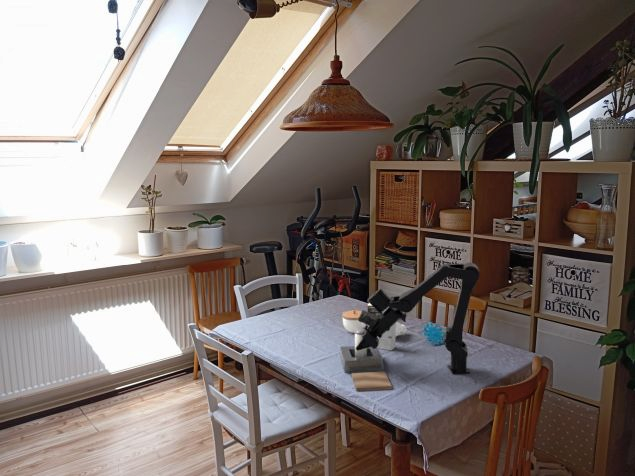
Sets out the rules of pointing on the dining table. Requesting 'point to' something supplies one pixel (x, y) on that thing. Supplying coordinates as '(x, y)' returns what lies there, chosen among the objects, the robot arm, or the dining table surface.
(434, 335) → the blue fuzzy rounded lump
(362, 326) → the lidded jar
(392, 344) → the skincare box
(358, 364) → the collar
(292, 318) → the dining table surface
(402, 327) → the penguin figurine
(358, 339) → the dome-capped cylinder
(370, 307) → the medicine bottle
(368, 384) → the pad
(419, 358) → the dining table surface
